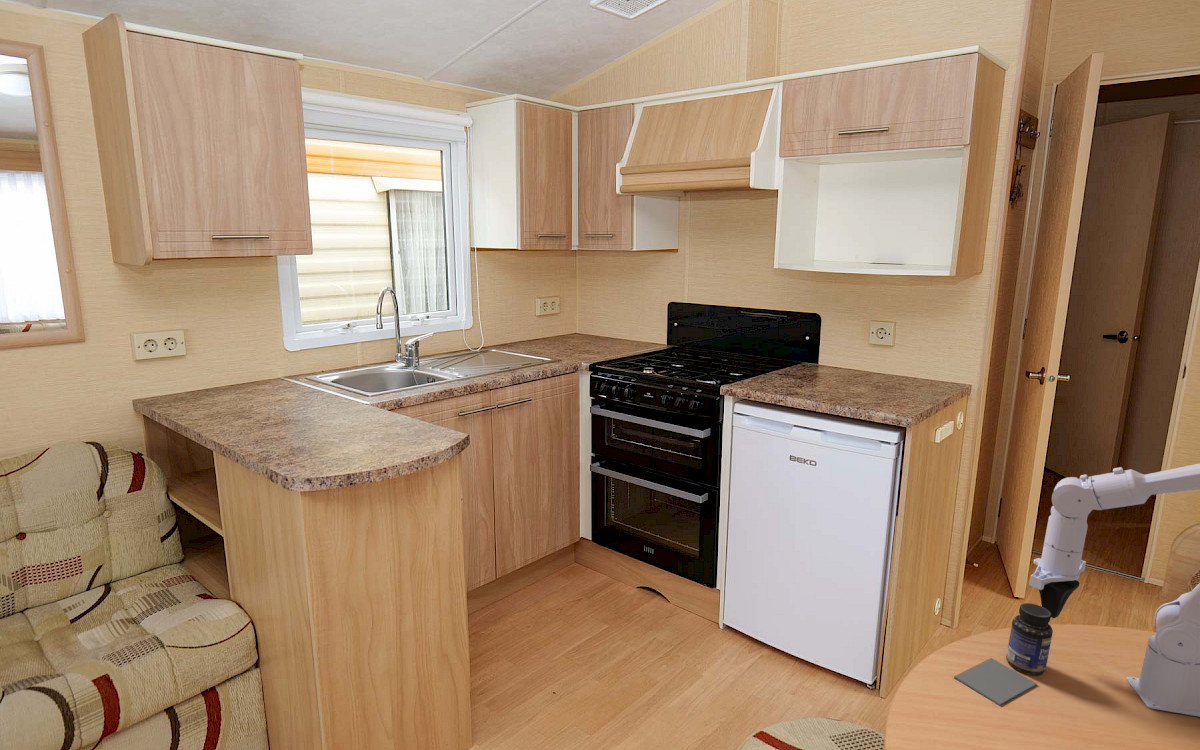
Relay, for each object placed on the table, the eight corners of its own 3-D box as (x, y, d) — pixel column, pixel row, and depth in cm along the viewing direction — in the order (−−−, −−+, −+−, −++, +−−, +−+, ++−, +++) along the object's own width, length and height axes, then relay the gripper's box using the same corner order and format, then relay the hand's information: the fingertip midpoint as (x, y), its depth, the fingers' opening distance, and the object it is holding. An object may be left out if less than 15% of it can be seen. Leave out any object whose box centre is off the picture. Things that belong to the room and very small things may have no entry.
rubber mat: (990, 659, 126) (991, 657, 126) (1036, 684, 119) (1036, 683, 119) (953, 677, 120) (954, 676, 120) (999, 705, 113) (999, 704, 113)
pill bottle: (1043, 681, 120) (1054, 623, 118) (1003, 667, 124) (1013, 611, 121) (1046, 664, 125) (1057, 608, 122) (1008, 650, 128) (1017, 596, 126)
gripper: (1061, 528, 129) (1048, 594, 132) (1017, 544, 122) (1004, 614, 125) (1103, 543, 123) (1089, 612, 126) (1059, 561, 116) (1045, 634, 119)
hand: (1050, 614), depth 125 cm, fingers closed
